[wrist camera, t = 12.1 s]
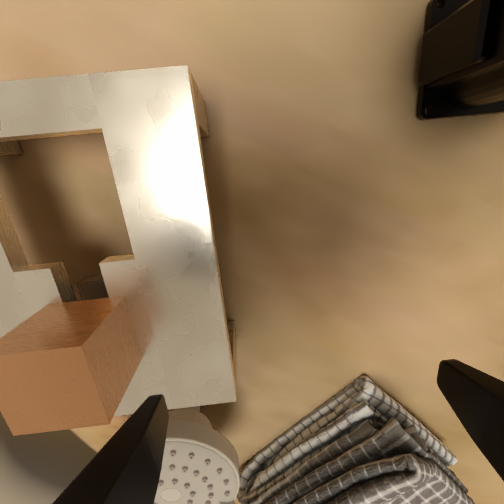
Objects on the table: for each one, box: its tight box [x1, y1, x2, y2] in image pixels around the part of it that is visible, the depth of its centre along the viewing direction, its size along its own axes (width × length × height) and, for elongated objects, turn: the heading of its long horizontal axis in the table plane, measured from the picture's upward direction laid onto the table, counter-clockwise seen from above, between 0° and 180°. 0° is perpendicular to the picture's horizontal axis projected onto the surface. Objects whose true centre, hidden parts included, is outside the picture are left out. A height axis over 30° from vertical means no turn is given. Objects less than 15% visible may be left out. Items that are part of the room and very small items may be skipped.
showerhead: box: [154, 406, 240, 504], centre depth 20 cm, size 9×7×10 cm
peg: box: [0, 275, 142, 436], centre depth 14 cm, size 4×4×8 cm
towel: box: [237, 376, 475, 504], centre depth 24 cm, size 15×18×8 cm
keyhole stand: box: [0, 65, 236, 416], centre depth 16 cm, size 14×18×6 cm
